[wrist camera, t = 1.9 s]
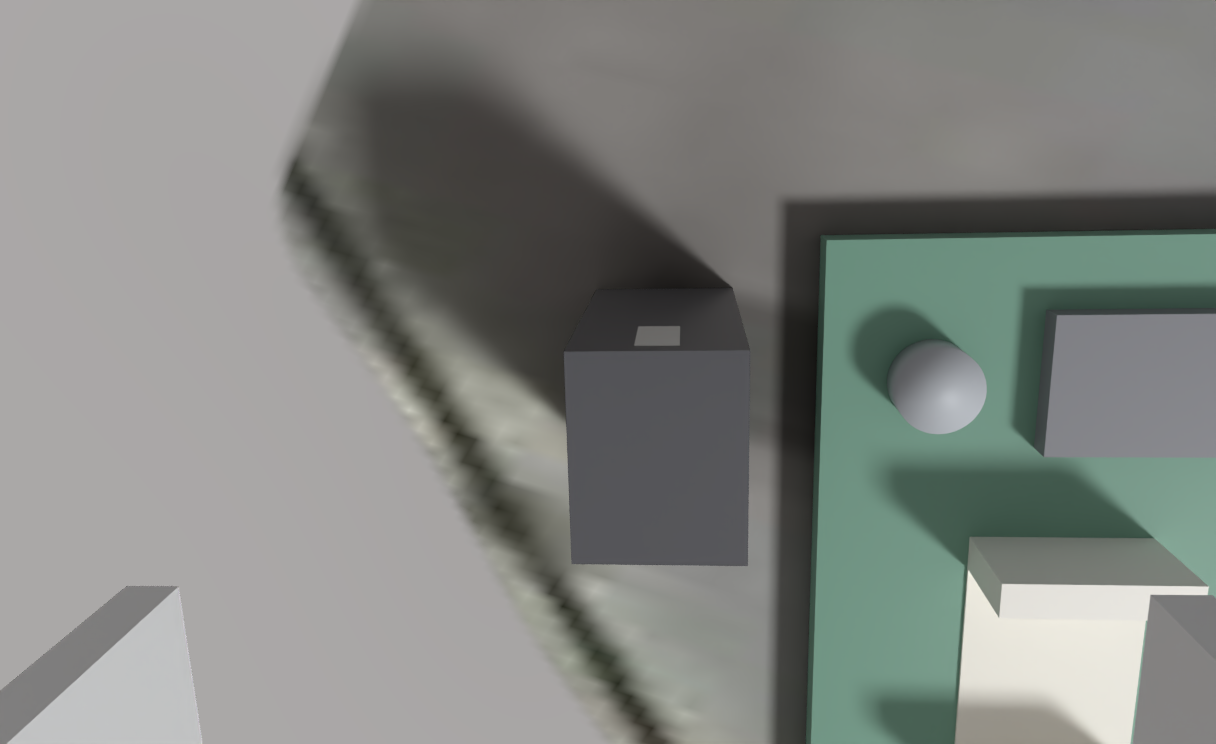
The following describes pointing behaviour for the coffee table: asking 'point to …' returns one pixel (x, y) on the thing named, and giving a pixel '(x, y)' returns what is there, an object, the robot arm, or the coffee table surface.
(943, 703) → the board
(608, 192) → the coffee table surface
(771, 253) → the coffee table surface
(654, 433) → the plug
